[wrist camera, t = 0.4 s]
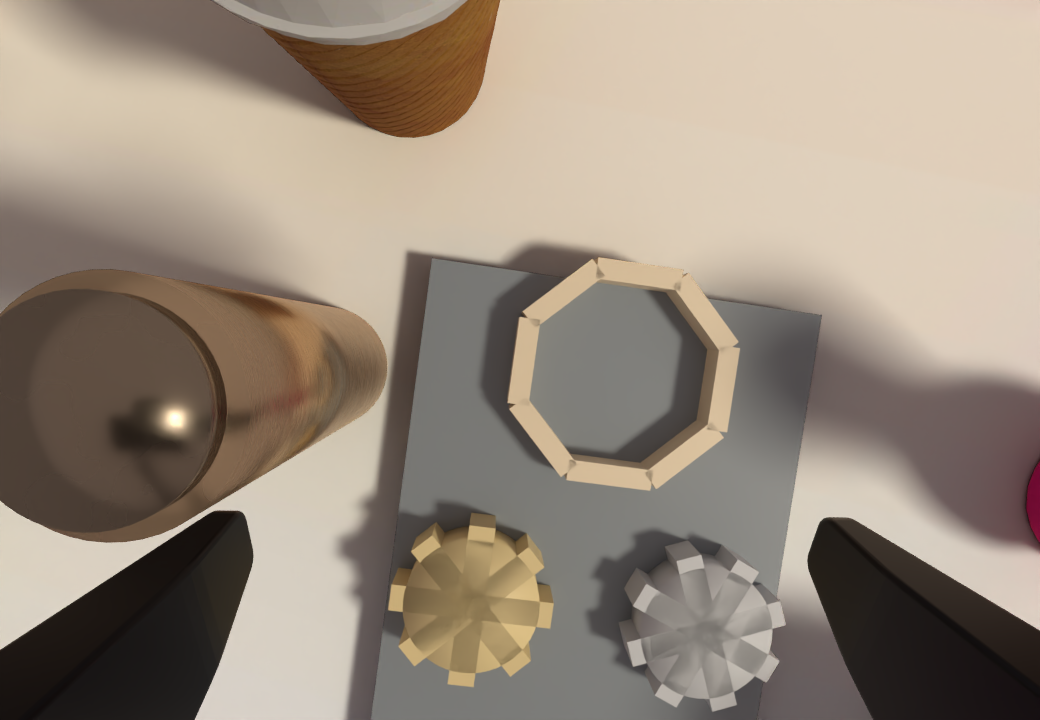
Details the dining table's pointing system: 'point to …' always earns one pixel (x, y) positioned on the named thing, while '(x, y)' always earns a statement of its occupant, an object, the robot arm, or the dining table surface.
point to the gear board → (592, 498)
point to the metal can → (165, 396)
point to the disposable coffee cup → (386, 54)
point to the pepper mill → (1034, 501)
